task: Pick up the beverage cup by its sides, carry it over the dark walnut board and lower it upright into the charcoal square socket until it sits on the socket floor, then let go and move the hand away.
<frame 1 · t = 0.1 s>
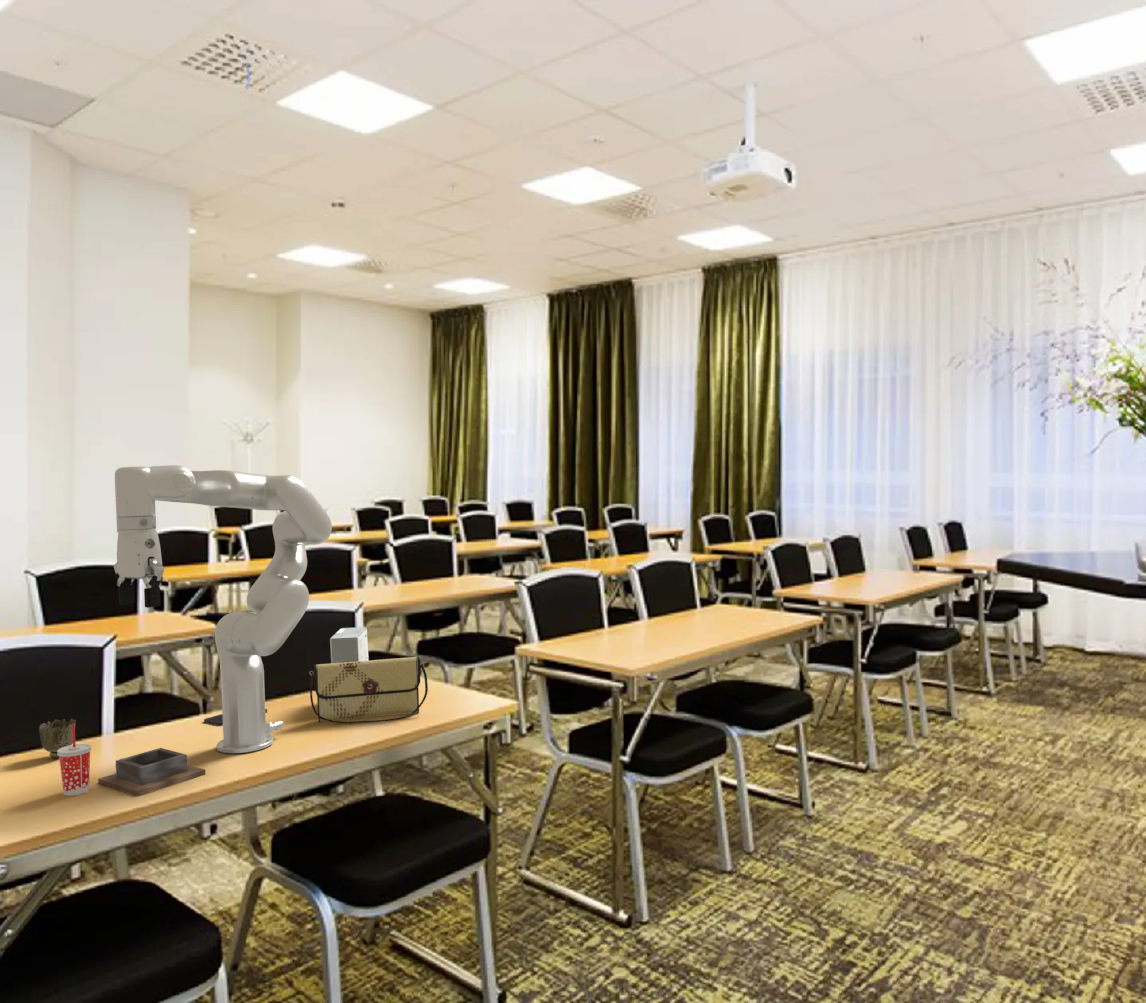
hand: (139, 605, 190), 37 cm above the table, tool pointing down, fingers open, 9 cm apart
hard drive box: (352, 704, 248), on the table
socket board: (152, 778, 189), on the table
cup: (58, 757, 207), on the table
beverage cup: (76, 792, 183), on the table
clutch purse: (370, 720, 231), on the table
phone: (236, 719, 237), on the table
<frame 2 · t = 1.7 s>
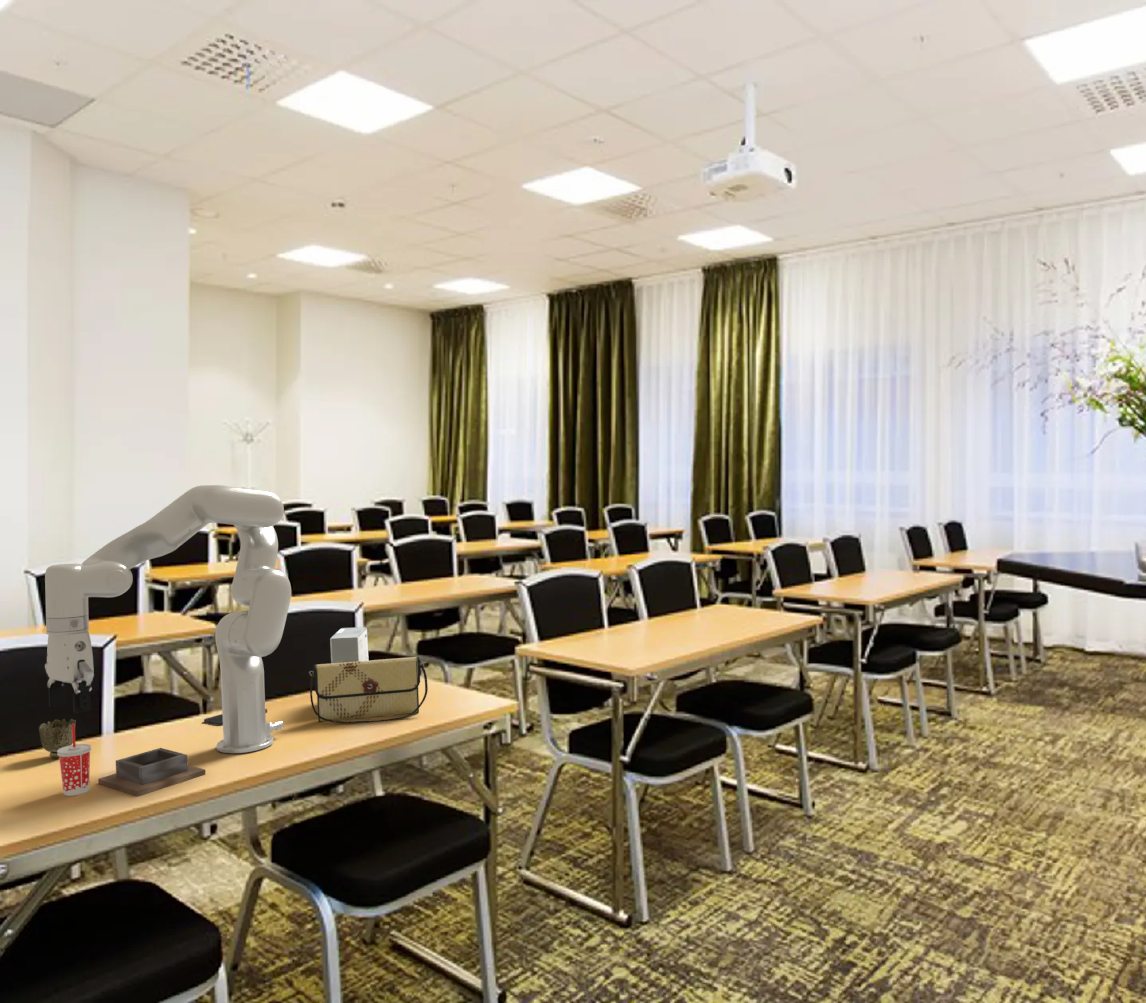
hand: (69, 709, 182), 17 cm above the table, tool pointing down, fingers open, 9 cm apart
nothing on the table moved.
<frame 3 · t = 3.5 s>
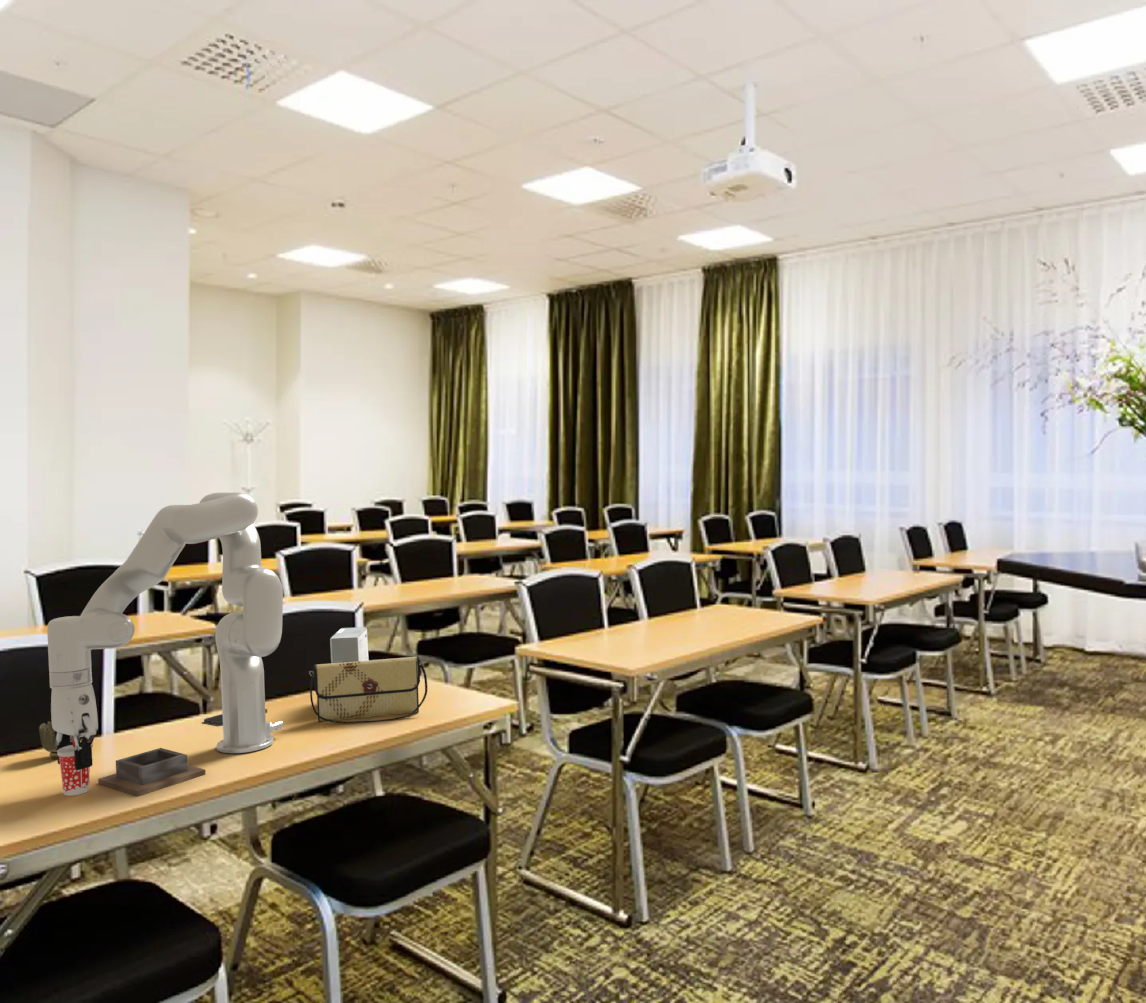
hand: (75, 764, 183), 6 cm above the table, tool pointing down, fingers closed on beverage cup, 6 cm apart
beverage cup: (76, 792, 183), on the table, touching gripper
everything else where it was.
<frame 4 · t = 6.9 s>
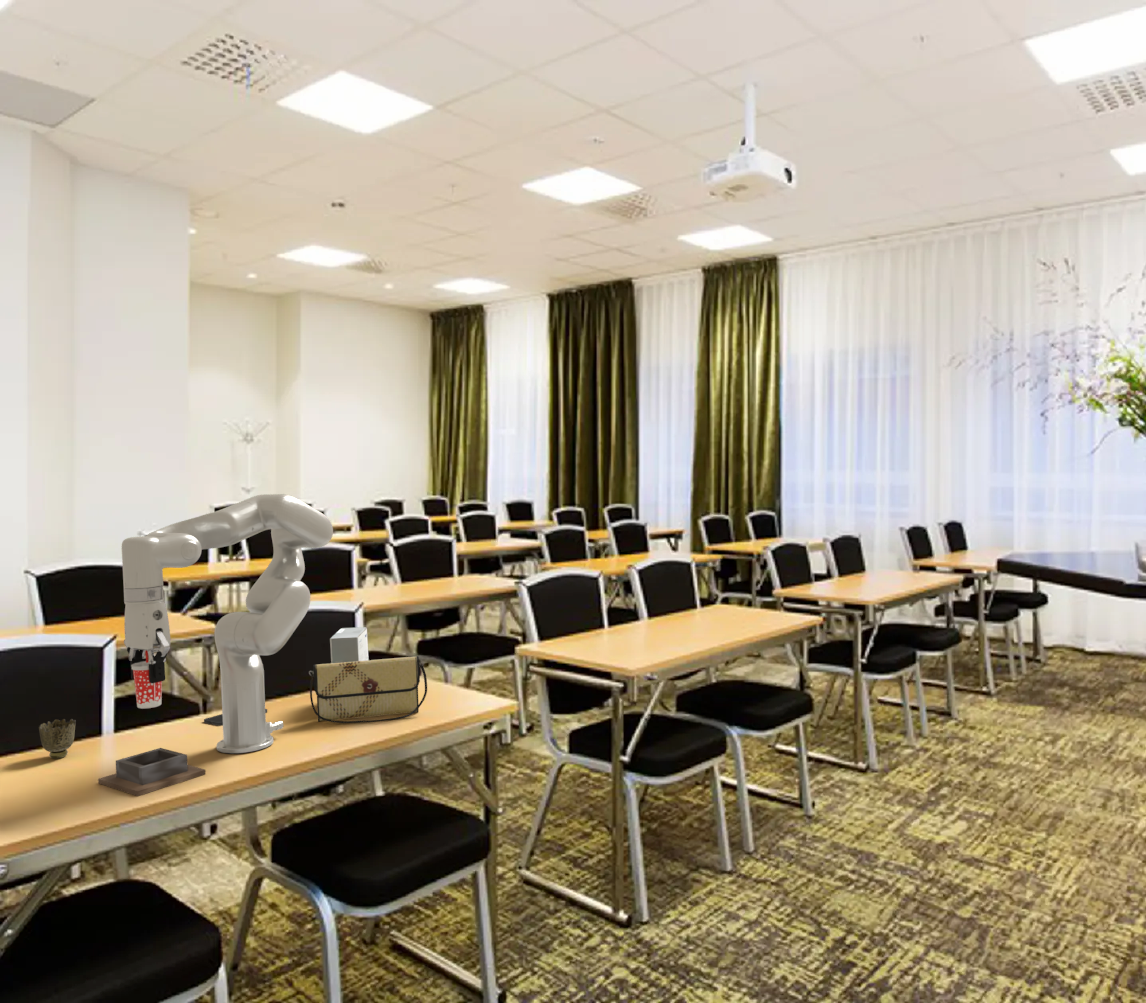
hand: (148, 679, 189), 21 cm above the table, tool pointing down, fingers closed on beverage cup, 6 cm apart
beverage cup: (149, 706, 189), point 15 cm above the table, touching gripper
everything else where it was.
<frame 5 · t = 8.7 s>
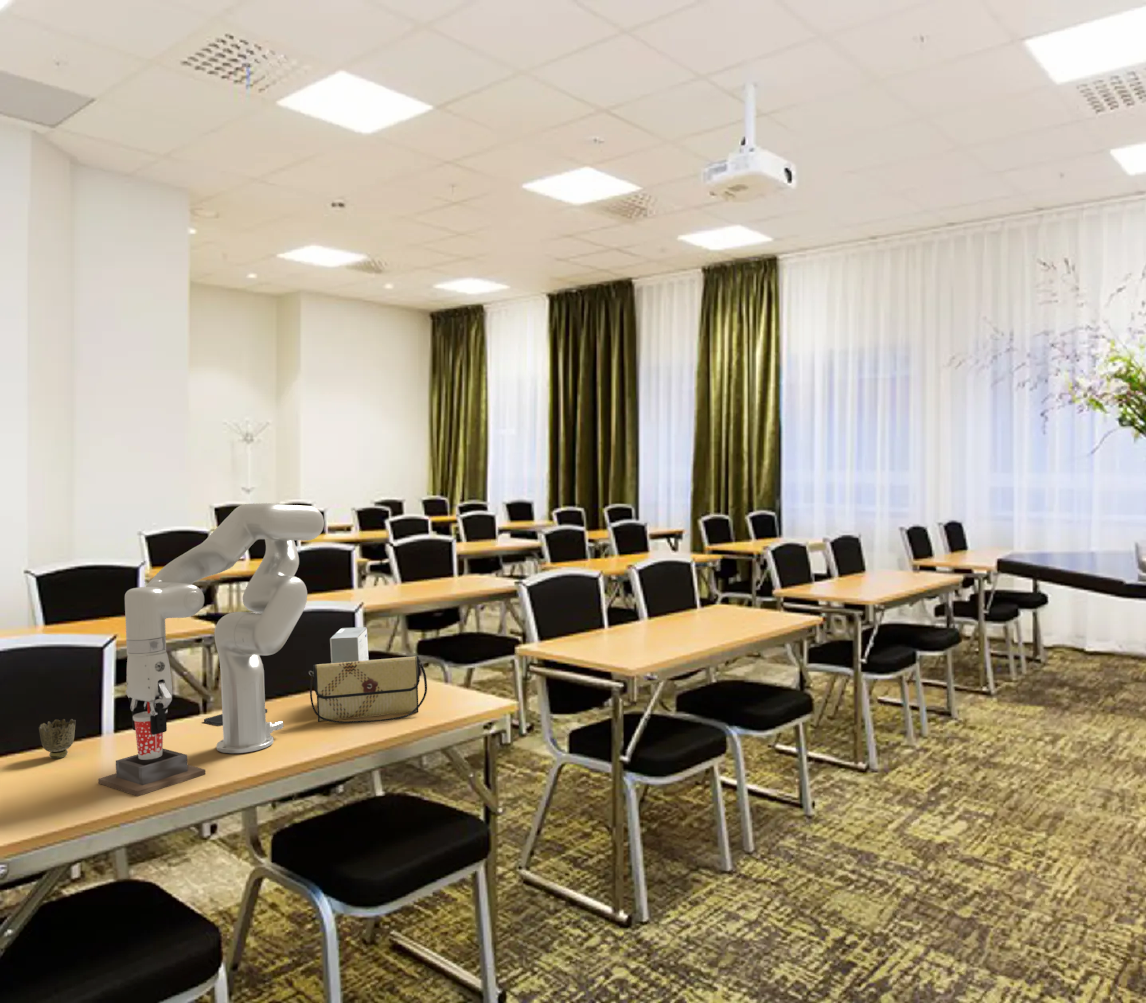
hand: (149, 730, 189), 10 cm above the table, tool pointing down, fingers closed on beverage cup, 6 cm apart
beverage cup: (150, 757, 189), point 5 cm above the table, touching gripper
everything else where it was.
when the fingers open (8 cm above the table, at t = 10.2 s): beverage cup drops 1 cm, resting on socket board.
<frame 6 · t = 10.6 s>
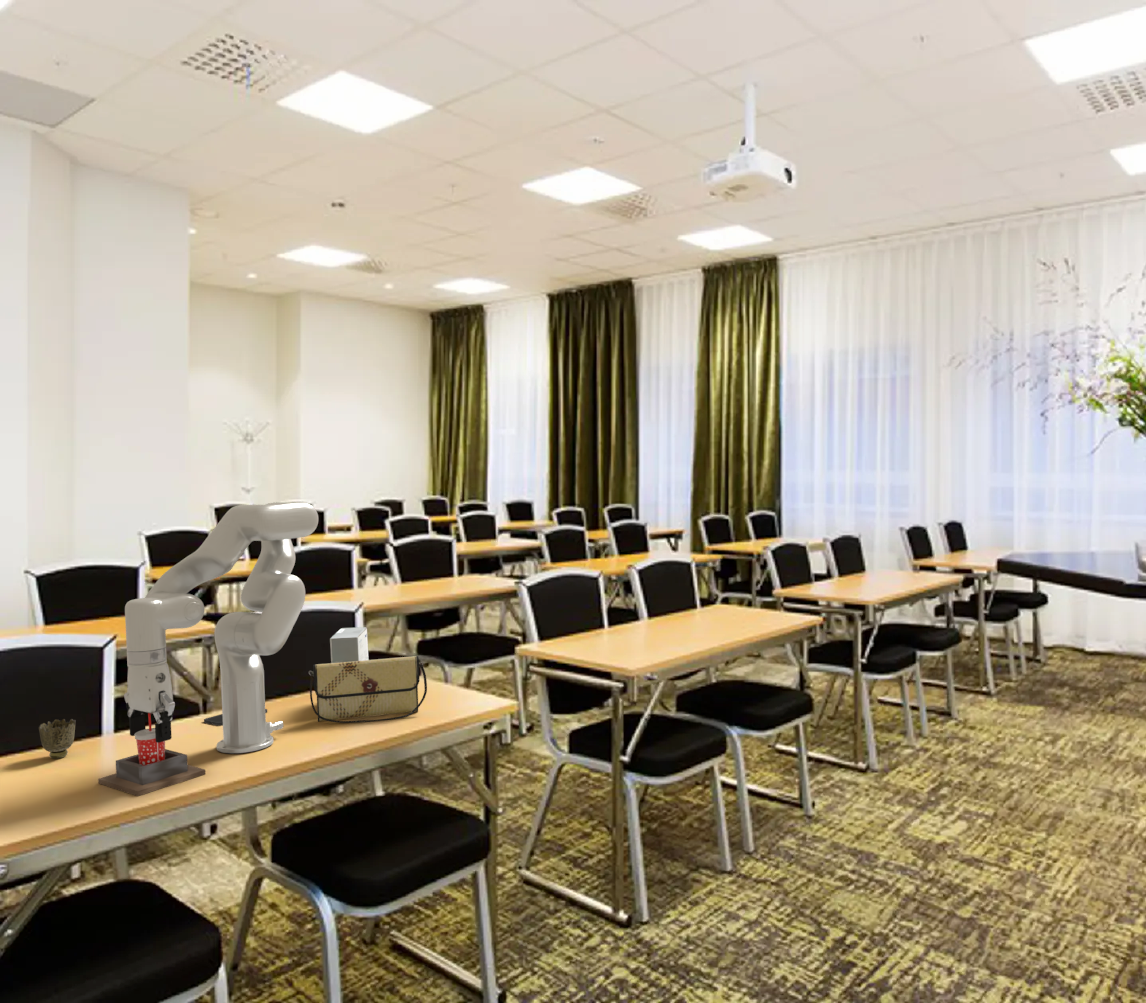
hand: (150, 737, 189), 9 cm above the table, tool pointing down, fingers open, 9 cm apart
beverage cup: (153, 774, 189), point 1 cm above the table, touching socket board
everything else where it was.
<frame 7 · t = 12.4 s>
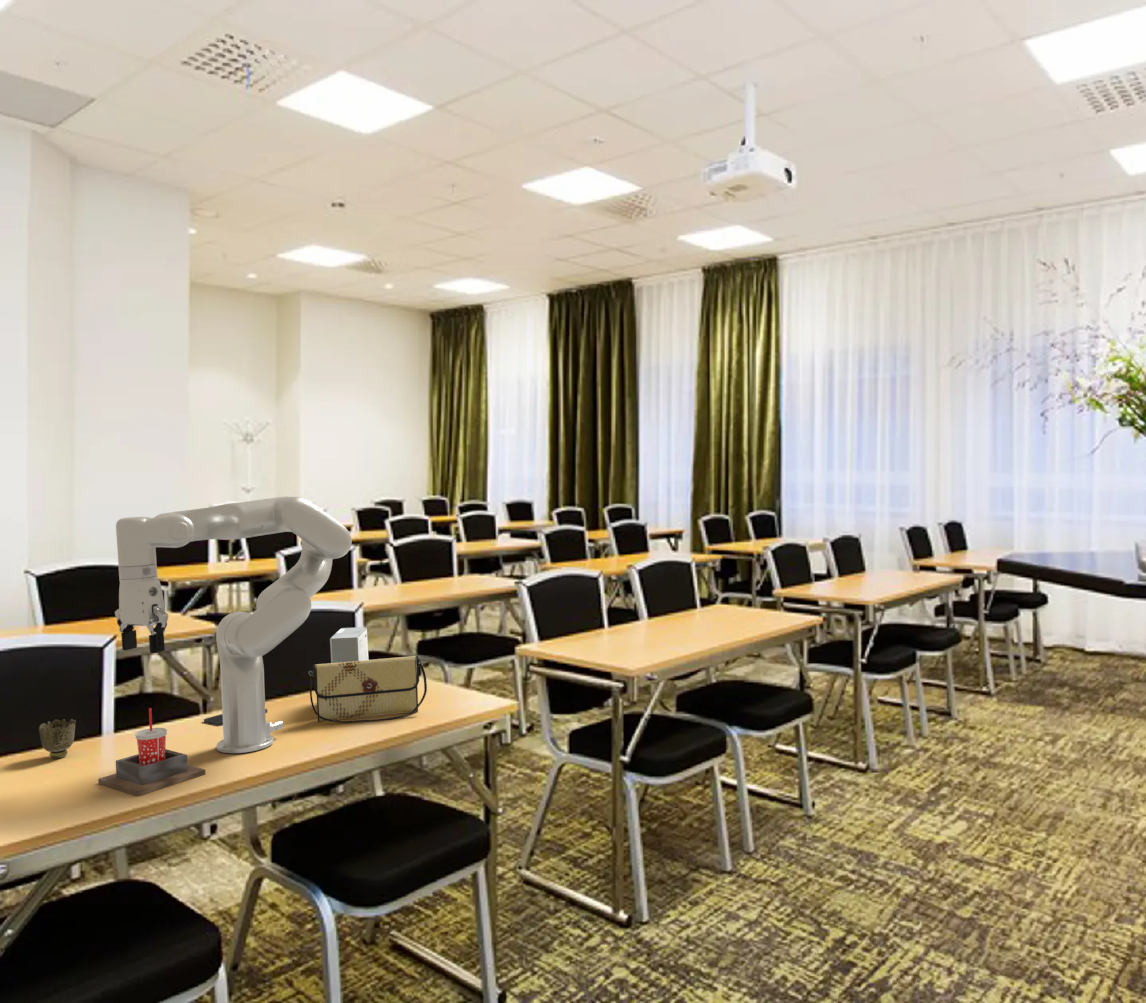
hand: (143, 650, 197), 26 cm above the table, tool pointing down, fingers open, 9 cm apart
nothing on the table moved.
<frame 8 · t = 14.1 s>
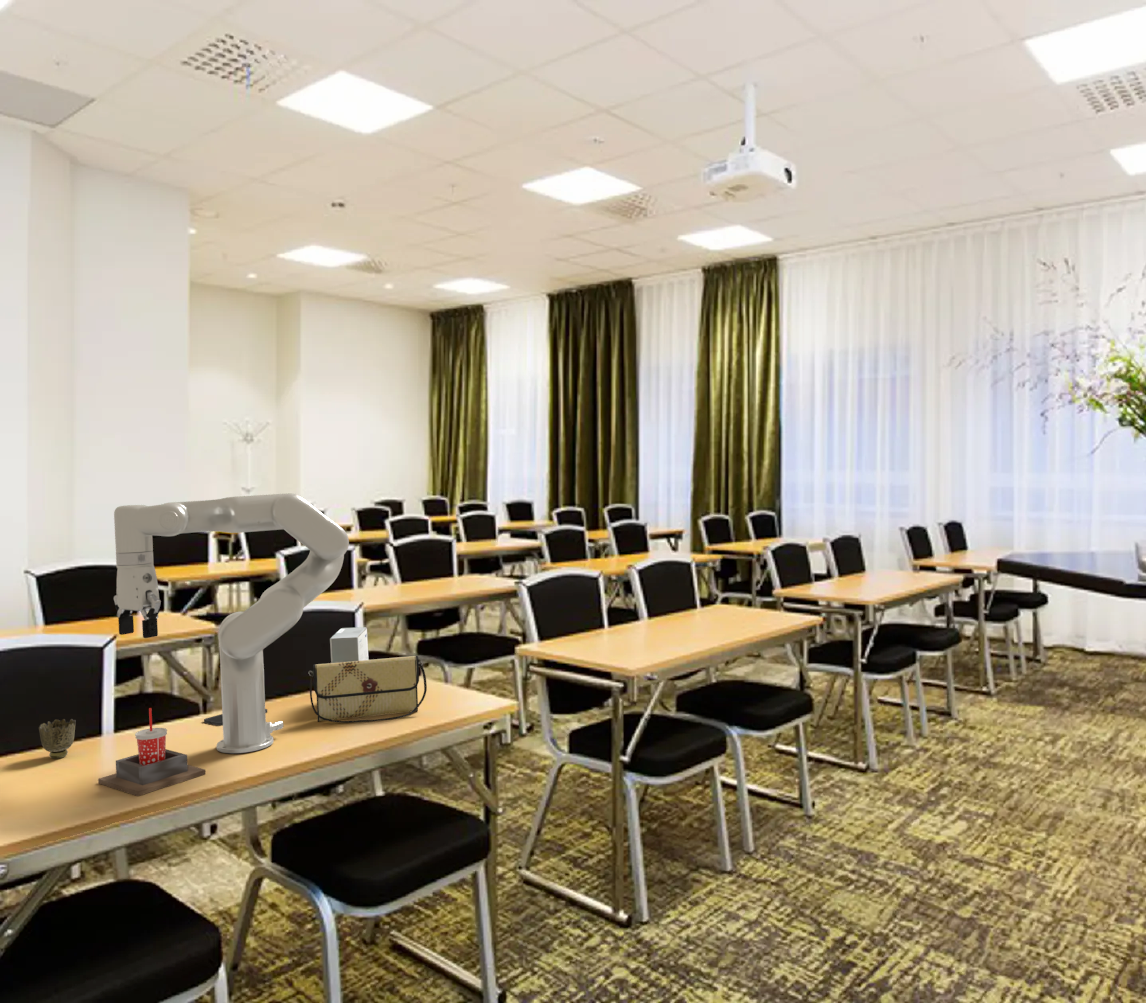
hand: (138, 635, 202), 28 cm above the table, tool pointing down, fingers open, 9 cm apart
nothing on the table moved.
at the end: beverage cup 0.2 cm off-centre on the socket board, point 0.8 cm above the socket board's base; beverage cup tilted 0°; the gripper is holding nothing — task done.
